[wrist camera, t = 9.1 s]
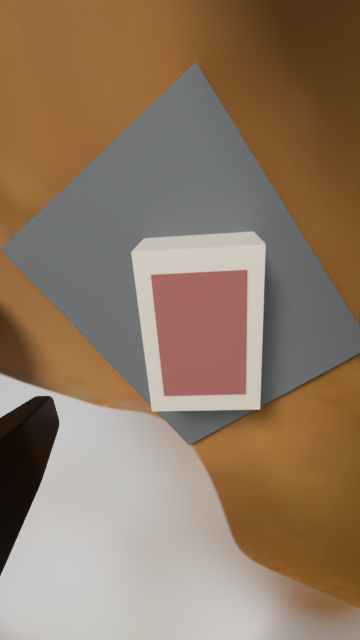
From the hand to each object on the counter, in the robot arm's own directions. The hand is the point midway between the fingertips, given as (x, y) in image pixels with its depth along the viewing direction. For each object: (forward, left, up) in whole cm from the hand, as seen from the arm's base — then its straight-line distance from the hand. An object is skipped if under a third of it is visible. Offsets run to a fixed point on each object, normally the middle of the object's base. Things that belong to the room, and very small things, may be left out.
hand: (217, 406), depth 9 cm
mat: (0, -1, -12) cm, 12 cm away
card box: (+1, -1, -11) cm, 11 cm away
